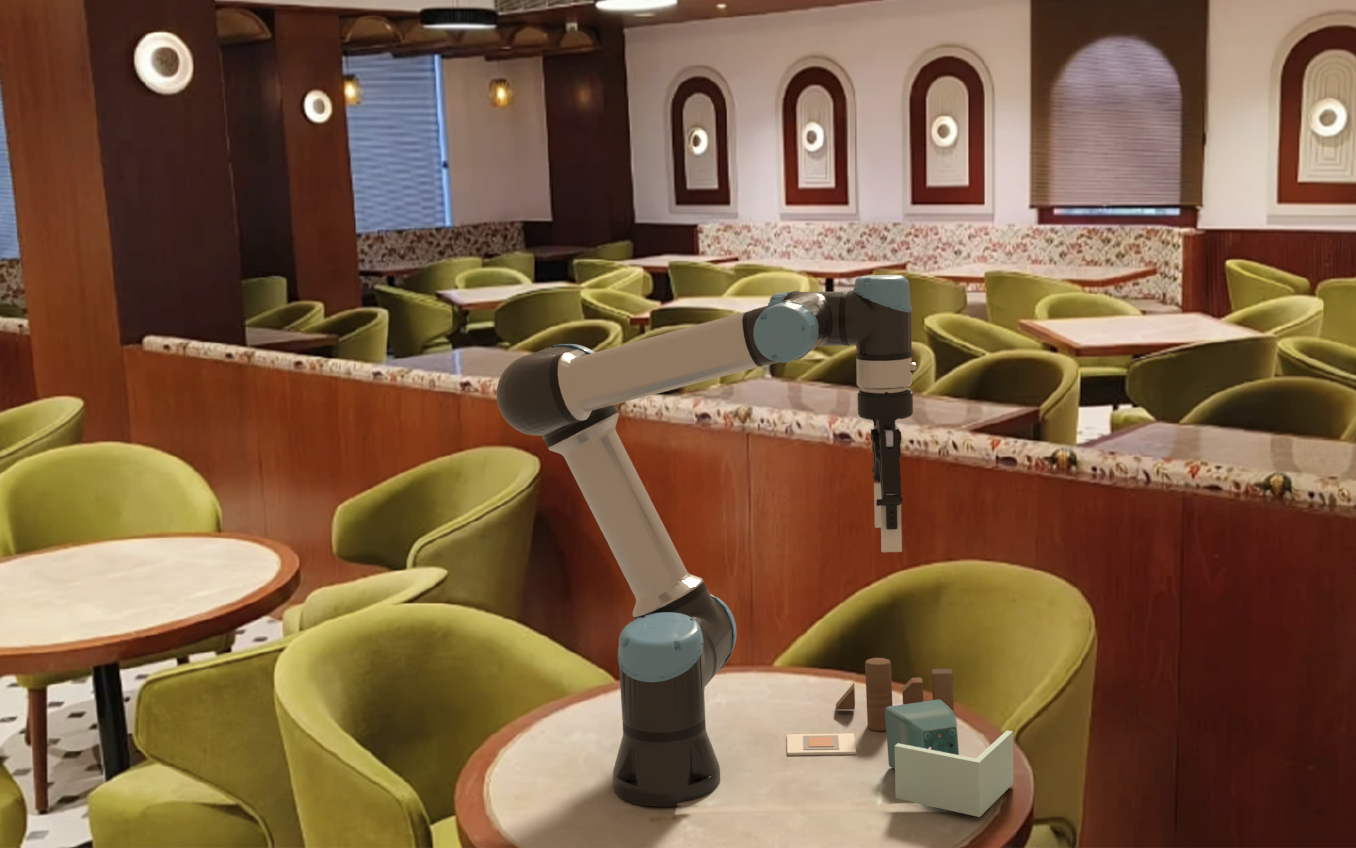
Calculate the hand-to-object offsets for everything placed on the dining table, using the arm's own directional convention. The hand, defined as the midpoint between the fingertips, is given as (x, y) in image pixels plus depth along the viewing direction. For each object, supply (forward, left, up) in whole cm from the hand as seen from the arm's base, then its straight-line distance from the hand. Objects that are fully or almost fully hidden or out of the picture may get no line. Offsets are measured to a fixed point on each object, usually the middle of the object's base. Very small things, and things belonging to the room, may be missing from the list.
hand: (887, 539), depth 203 cm
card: (-10, +6, -33) cm, 35 cm away
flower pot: (+6, -9, -27) cm, 29 cm away
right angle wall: (+8, -10, -33) cm, 35 cm away
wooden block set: (+1, +14, -33) cm, 36 cm away
